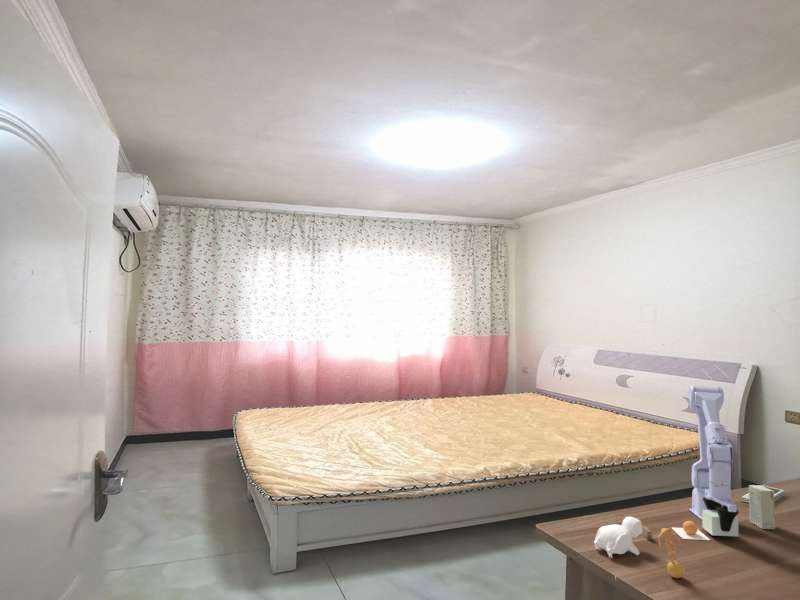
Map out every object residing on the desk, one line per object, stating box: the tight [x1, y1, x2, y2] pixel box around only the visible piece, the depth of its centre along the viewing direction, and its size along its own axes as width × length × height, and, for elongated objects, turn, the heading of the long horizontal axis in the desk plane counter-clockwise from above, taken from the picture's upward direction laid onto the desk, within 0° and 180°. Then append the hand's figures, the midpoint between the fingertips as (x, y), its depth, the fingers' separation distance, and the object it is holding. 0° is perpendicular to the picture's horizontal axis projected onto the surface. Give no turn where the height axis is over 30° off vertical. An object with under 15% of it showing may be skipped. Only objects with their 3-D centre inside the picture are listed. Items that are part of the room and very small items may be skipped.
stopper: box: [632, 515, 653, 541], centre depth 159 cm, size 12×1×2 cm, turn 175°
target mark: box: [670, 527, 711, 541], centre depth 157 cm, size 8×8×1 cm
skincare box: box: [748, 484, 776, 530], centre depth 165 cm, size 6×4×12 cm
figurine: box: [657, 527, 685, 579], centre depth 132 cm, size 8×6×12 cm
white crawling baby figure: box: [593, 516, 642, 559], centre depth 146 cm, size 9×8×15 cm
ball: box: [682, 520, 699, 535], centre depth 157 cm, size 4×4×4 cm
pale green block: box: [702, 510, 739, 537], centre depth 156 cm, size 6×8×6 cm
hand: (719, 526), depth 156 cm, fingers closed on pale green block, 6 cm apart
